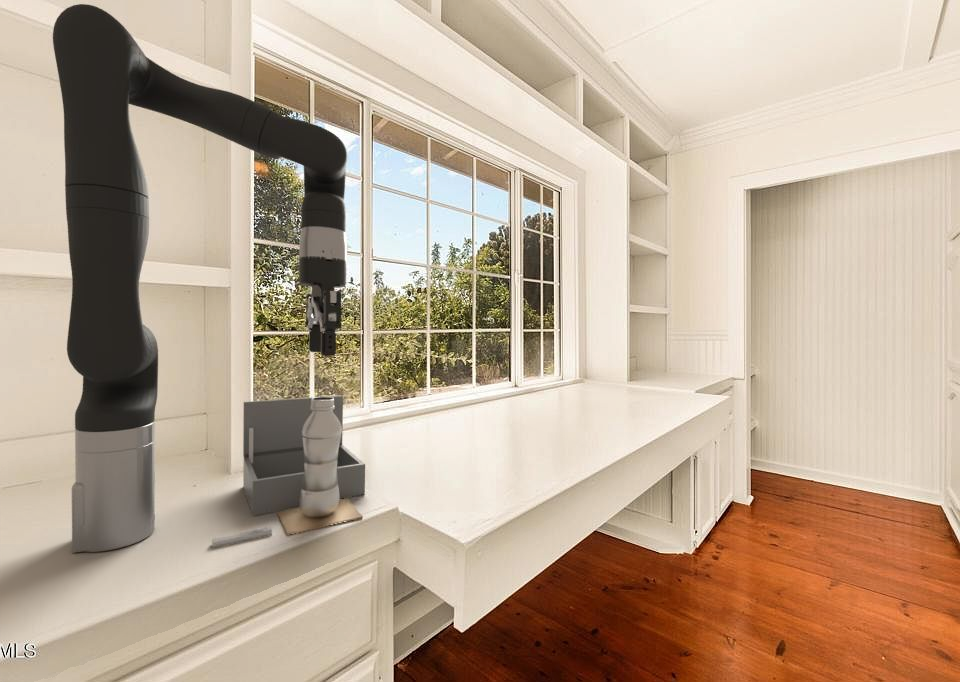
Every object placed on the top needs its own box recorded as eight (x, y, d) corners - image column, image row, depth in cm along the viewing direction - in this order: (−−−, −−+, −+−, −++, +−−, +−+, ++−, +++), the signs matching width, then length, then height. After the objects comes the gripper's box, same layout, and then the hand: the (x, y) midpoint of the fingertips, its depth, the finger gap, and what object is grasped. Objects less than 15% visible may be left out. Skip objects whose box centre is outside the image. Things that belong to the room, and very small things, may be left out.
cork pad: (287, 535, 69) (287, 532, 69) (277, 513, 77) (277, 511, 77) (362, 518, 76) (362, 516, 76) (347, 500, 83) (347, 498, 83)
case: (252, 516, 75) (253, 417, 75) (243, 485, 89) (243, 401, 89) (364, 494, 86) (366, 408, 86) (340, 470, 100) (342, 395, 99)
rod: (212, 550, 65) (212, 542, 65) (211, 547, 66) (211, 539, 66) (272, 537, 69) (272, 529, 69) (270, 533, 70) (270, 526, 70)
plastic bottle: (290, 516, 75) (292, 398, 74) (322, 502, 81) (325, 393, 80) (316, 526, 72) (319, 403, 71) (347, 511, 77) (351, 398, 77)
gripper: (291, 260, 78) (290, 351, 79) (309, 250, 67) (307, 357, 67) (334, 264, 83) (332, 350, 83) (358, 255, 71) (356, 356, 71)
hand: (321, 353), depth 75 cm, fingers open, 8 cm apart
